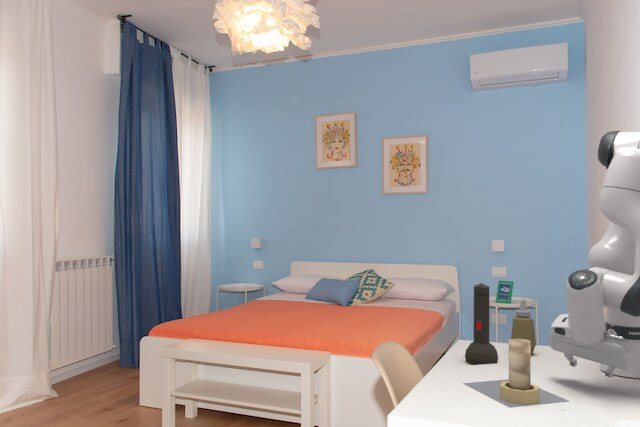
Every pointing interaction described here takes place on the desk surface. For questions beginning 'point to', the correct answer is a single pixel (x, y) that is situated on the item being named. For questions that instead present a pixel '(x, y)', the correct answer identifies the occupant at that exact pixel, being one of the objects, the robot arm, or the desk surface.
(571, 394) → the desk surface
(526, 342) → the ash peg
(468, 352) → the flashlight
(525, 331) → the squeeze bottle
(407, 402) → the desk surface
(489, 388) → the socket board
